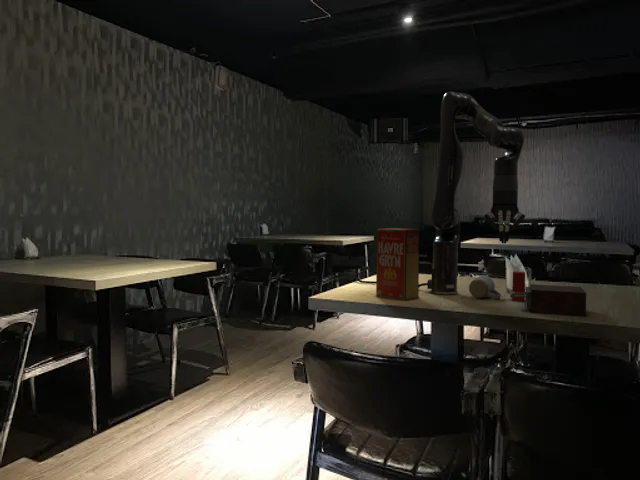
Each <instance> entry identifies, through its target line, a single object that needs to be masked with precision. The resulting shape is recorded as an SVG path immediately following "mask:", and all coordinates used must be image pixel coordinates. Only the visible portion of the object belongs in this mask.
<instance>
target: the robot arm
mask: <svg viewBox="0 0 640 480" xmlns="http://www.w3.org/2000/svg"><path fill="white" fill-rule="evenodd" d="M456 119H457V120H458V119H459V120H467V121H469V122H471V123H472V126H473V128H474V130H475V131H476V132H477V133H479V134H480V135H481V136H483V137H484V138H485V139H486V141H487V143H488V145H490V147H492V148H494V149H496V150H506V151H505V153H504V155H503V156H499V157H497V158H495V160H494V165H493V166H494V167H493V168H494V169H493V181H492V205H491V208H490V211H489V212H488V213H486V214H484V219H485V220H486V221H487V223H488V224H489V225H490V226H491V228H493V230H495V231H498V232H499V237H498V238H499V239H498V240H499V242H501V244H507V243H508V242H509V241H510V232H511V231H515V229H516V228H517V227H518V226H519V225H520V224H521V223H522V221H523V220H524V219H525V218H526V215H525V214H524V213H522V212H521V211H520V209H519V207H518V196H519V195H518V193H519V181H518V168H519V167H518V162H519V160H520V156H521V154H522V153H521V152H522V151H523V146H524V142H525V136H524V132H523V130H522V129H520V128H519V127H511V126H504V123H503V121H501V120H500V119H499V118H498V117H496V116H494V115H492V114H491V113H490V112H488V111H487V110H486V109H484V108H483V107H482V106H481V105H480V103H479V102H478V101H477V100H476V99H475V98H474V97H473V96H471V94H468V93H464V92H457V91H447V92H445V94H444V95H443V97H442V99H441V105H440V136H439V149H438V155H437V157H438V158H437V168H436V172H437V173H436V182H435V184H436V185H435V196H434V201H433V205H432V211H431V215H430V216H431V217H430V219H431V223H432V226H433V227H434V228H435V237H434V240H433V242H432V267H431V278H429V279H427V281H426V282H424V283H419V288H420V287H424V286H427V288H426V289H427V290H431V291H430V293H431V294H436V295H446V296H448V295H451V296H452V295H457V294H458V261H459V259H458V258H459V242H460V237H461V215H460V212H459V210H458V209H456V208H455V202H456V201H455V199H456V193H457V189H458V186H459V184H460V181H461V179H462V178H461V177H462V174H463V168H464V159H465V158H464V157H465V156H464V155H465V154H464V150H463V147H462V144H461V142H460V140H459V137H458V135H457V132H456ZM493 217H494V218H495V219H496V220H497V221H498V225H497V224H496V223H495V222H494V220H493ZM515 217H516V221H515V222H514V223H513V224H512V225H511V226H510V224H511V223H510V222H511V221H512V220H513V219H514V218H515ZM504 221H505V226H504ZM356 281H357V282H358V283H361V284H370V285H371V284H372V285H375V284H376V280H375V281H372V280H371V281H370V280H361V279H360V278H359V277H354V278H353V279H352V281H351V282H356Z"/></svg>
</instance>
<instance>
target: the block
mask: <svg viewBox="0 0 640 480" xmlns="http://www.w3.org/2000/svg"><path fill="white" fill-rule="evenodd" d="M511 291H514V292H517V293H526V271H517V270H516V271H512V290H511ZM515 295H517V294H515ZM511 301H512V302H522V303H524V302H525V303H526V298H523V297H514V298H511Z"/></svg>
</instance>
